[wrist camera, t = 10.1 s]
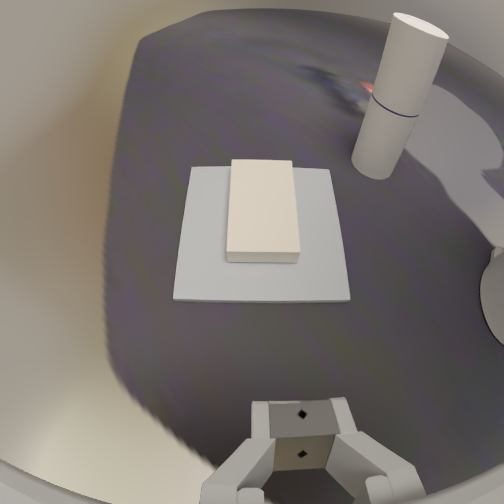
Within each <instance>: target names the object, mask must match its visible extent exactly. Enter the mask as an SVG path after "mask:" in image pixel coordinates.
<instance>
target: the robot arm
mask: <svg viewBox="0 0 504 504" xmlns="http://www.w3.org/2000/svg"><path fill="white" fill-rule="evenodd" d="M480 296H481V304H482V308H483V312H484V316H485V318H486V321H487V323H488V325H489V327H490V329H491V331H492V333H493V334H494V336H495V337H496V338H497V339H498V340H499V341H500V342H501V343H502V344H503V345H504V248H501V247H496V248H494V249H493V250H492V252H491V259H490V263H489V265H488V266H487V267H486V269H485V271H484V273H483V275H482V279H481V286H480ZM315 468H325V469H326V470H327V471H328V473H329V474H330V475H331V476H332V477H333V478H334V479H335V480H336V481H337V482H338V483H339V484H340V485H341V486H342V487H343V488H344V489H345V490H346V491H347V492H348V493H350V494H351V495H352V496H353V497H354V498H355V500H354V501H353V503H352V504H504V462H503V463H501V464H499V465H497V466H495V467H493V468H491V469H489V470H487V471H485V472H483V473H481V474H479V475H477V476H474V477H472V478H470V479H468V480H465V481H463V482H461V483H458V484H456V485H453V486H451V487H448V488H446V489H443V490H440V491H438V492H435V493H432V494H429V495H426V493H425V490H424V488H423V485H422V483H421V481H420V478H419V476H418V474H417V471H416V469H415V467H414V466H413V465H412V464H410V463H409V462H407V461H406V460H404V459H402V458H401V457H399V456H398V455H396V454H395V453H393V452H392V451H390V450H389V449H387V448H386V447H384V446H383V445H381V444H380V443H378V442H377V441H375V440H374V439H372V438H371V437H370V436H368V435H367V434H365V433H364V432H362V431H360V432H358V431H357V428H356V426H355V423H354V420H353V417H352V414H351V411H350V409H349V406H348V403H347V400H346V398H344V397H340V398H329V399H318V400H302V401H252V410H251V439H246V440H245V441H244V442H243V443H242V444H241V445H240V446H239V447H238V448H237V449H236V450H235V451H234V453H233V454H232V455H231V456H230V457H229V458H228V459H227V460H226V461H225V462H224V463H223V464H222V465H221V466H220V467H219V468H218V469H217V470H216V471H215V472H214V473H213V474H212V475H211V476H210V477H209V478H208V479H207V480H206V481H205V482H204V483H203V484H202V489H201V495H200V502H199V504H264V491H263V490H261V488H262V487H263V485H264V484H265V482H266V481H267V480H268V478H269V477H270V475H271V474H272V471H284V470H298V469H315ZM0 504H110V503H107V502H103V501H100V500H97V499H93V498H90V497H87V496H84V495H81V494H78V493H75V492H73V491H70V490H67V489H65V488H62V487H59V486H57V485H54V484H52V483H49V482H47V481H45V480H42V479H40V478H38V477H36V476H33V475H31V474H29V473H27V472H25V471H23V470H21V469H19V468H17V467H15V466H13V465H11V464H9V463H7V462H5V461H4V460H2V459H0Z"/></svg>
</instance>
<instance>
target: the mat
mask: <svg viewBox="0 0 504 504" xmlns="http://www.w3.org/2000/svg"><path fill="white" fill-rule="evenodd" d="M293 178H294V187H295V197H296V207H297V218H298V229H299V241H300V255H299V259H298V262H297V263H273V262H228V260H227V252H226V250H227V231H228V213H229V197H230V181H231V166H223V167H192V169H191V175H190V180H189V186H188V192H187V198H186V204H185V211H184V217H183V224H182V231H181V238H180V245H179V252H178V260H177V268H176V276H175V285H174V294H173V300H174V301H183V302H217V303H334V302H349V301H350V292H349V284H348V277H347V269H346V262H345V255H344V249H343V242H342V236H341V230H340V224H339V218H338V213H337V207H336V202H335V197H334V191H333V186H332V181H331V177H330V172H329V169H311V168H293Z"/></svg>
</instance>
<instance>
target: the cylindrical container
mask: <svg viewBox="0 0 504 504" xmlns="http://www.w3.org/2000/svg"><path fill="white" fill-rule="evenodd" d="M448 40H449V36H448V35H447V34H446V33H444V32H443V31H442V30H440V29H439V28H437V27H435V26H434V25H432V24H430V23H427V22H426V21H423V20H421V19H418V18H416V17H413V16H410V15H406V14H402V13H394V14H393V17H392V21H391V25H390V29H389V33H388V37H387V41H386V44H385V48H384V52H383V56H382V59H381V63H380V66H379V70H378V73H377V77H376V80H375V84H374V87H373V90H372V94H371V97H370V100H369V104H368V107H367V110H366V113H365V117H364V120H363V123H362V126H361V129H360V132H359V135H358V138H357V141H356V144H355V147H354V150H353V153H352V157H351V159H352V163H353V165H354V167H355V168H356V169H357V170H358V171H359V172H360V173H362V174H363V175H365V176H367V177H369V178H372V179H377V180H382V179H386V178H388V177H389V176H390V175H391V174H392V172H393V170H394V168H395V166H396V164H397V161H398V159H399V157H400V155H401V153H402V151H403V149H404V147H405V145H406V142H407V140H408V138H409V136H410V133H411V131H412V129H413V127H414V125H415V122H416V120H417V118H418V116H419V113H420V111H421V109H422V106H423V104H424V102H425V99H426V97H427V94H428V92H429V90H430V87H431V85H432V82H433V80H434V77H435V75H436V72H437V70H438V67H439V64H440V62H441V59H442V56H443V54H444V51H445V48H446V45H447V42H448Z"/></svg>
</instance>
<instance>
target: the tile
mask: <svg viewBox="0 0 504 504" xmlns="http://www.w3.org/2000/svg"><path fill="white" fill-rule="evenodd" d="M226 252H227V260H228V262H273V263H297V262H298V259H299V255H300V241H299V229H298V218H297V207H296V197H295V187H294V178H293V168H292V161H283V160H232V166H231V181H230V197H229V213H228V231H227V250H226Z"/></svg>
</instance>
